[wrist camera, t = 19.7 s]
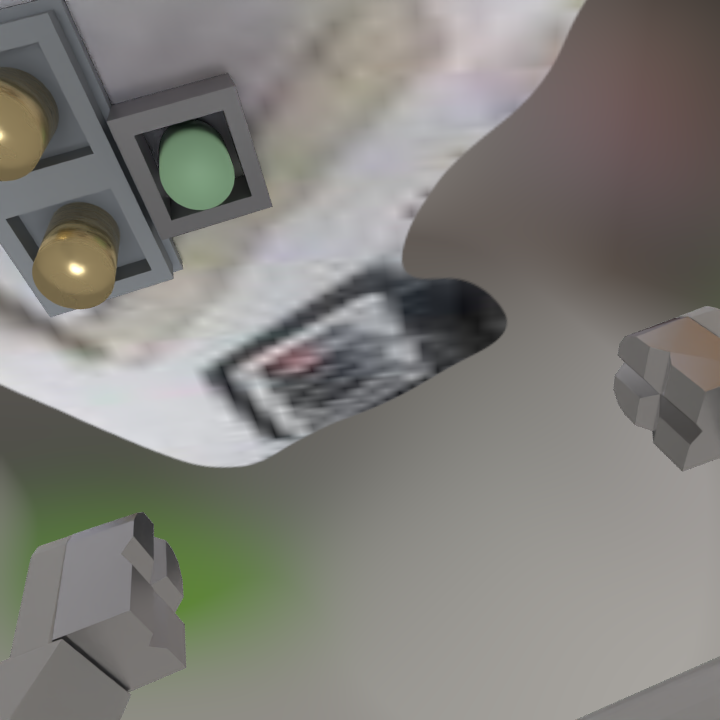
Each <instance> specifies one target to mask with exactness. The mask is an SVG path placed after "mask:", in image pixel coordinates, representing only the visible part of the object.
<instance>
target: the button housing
mask: <svg viewBox="0 0 720 720" xmlns="http://www.w3.org/2000/svg"><path fill="white" fill-rule="evenodd" d="M219 111H223V114H224V117H225V120H226V123H227V126H228V129H229V132H230V135H231V138H232V141H233V144H234V147H235V150H236V153H237V156H238V159H239V162H240V165H241V168H242V171H243V174H244V175H243V176H240V177H236V178H235V180H234V185H233V188H232V191H231V193H230V194H229V196H228V197H227V198H226V200H224V201H223V202H222V203H221V204H219V205H218V206H216V207H213V208H211V209H207V210H194V209H189V208H186V207H184V206H182V205H180V204H178V203H177V202H175V201H174V200H173V199H172V198H171V197H170V196H169V195H168V194H167V192H166V191H165V189H164V187H163V185H162V183H161V179H160V173H159V170H158V168H157V166H156V163H155V161H154V159H153V156H152V154H151V152H150V149H149V147H148V145H147V142H146V140H145V138H144V135H143V133H145V132H149V131H152V130H156V129H159V128H163V127H166V126H170V125H173V124H177V123H180V122H184V121H187V120H191V119H195V118H198V117H202V116H205V115H209V114H212V113H216V112H219ZM107 123H108V126H109V128H110V130H111V132H112V134H113V136H114V138H115V141H116V143H117V145H118V147H119V149H120V151H121V154H122V156H123V158H124V160H125V162H126V164H127V166H128V169H129V171H130V173H131V175H132V177H133V179H134V181H135V184H136V186H137V188H138V190H139V192H140V194H141V196H142V199H143V201H144V203H145V205H146V207H147V209H148V211H149V214H150V216H151V218H152V220H153V222H154V224H155V226H156V229H157V231H158V233H159V235H160V237H161V239H162V240H165V239H168V238H171V237H175V236H178V235H181V234H185V233H188V232H191V231H194V230H198V229H201V228H204V227H207V226H211V225H214V224H217V223H220V222H224V221H227V220H230V219H234V218H237V217H240V216H243V215H247V214H250V213H253V212H256V211H260V210H263V209H266V208H270V207H273V206H272V203H271V200H270V197H269V193H268V190H267V187H266V184H265V180H264V177H263V174H262V171H261V167H260V164H259V161H258V158H257V154H256V151H255V148H254V145H253V142H252V138H251V135H250V132H249V129H248V125H247V122H246V119H245V116H244V112H243V109H242V106H241V103H240V99H239V96H238V93H237V90H236V86H235V84H234V83H233V81H232V79H231V78H230V76H229V74H228V73H226V74H223V75H219V76H215V77H212V78H208V79H204V80H201V81H197V82H194V83H190V84H186V85H183V86H179V87H175V88H172V89H168V90H165V91H161V92H157V93H154V94H150V95H146V96H143V97H139V98H136V99H132V100H128V101H125V102H121V103H117V104H114V105H111V109H110V112H109V115H108V119H107Z"/></svg>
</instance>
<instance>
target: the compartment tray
mask: <svg viewBox="0 0 720 720" xmlns="http://www.w3.org/2000/svg"><path fill="white" fill-rule="evenodd" d="M0 67H11V68H16V69H19V70H22V71H25V72H27V73H29V74H31V75H32V76H34V77H35V78H37V79H38V80H39V81H40V82H41V83H43V84H44V85H45V87H46V88H47V89H48V90H49V91H50V93H51V94H52V96H53V98H54V100H55V102H56V105H57V108H58V113H59V121H58V126H57V129H56V131H55V133H54V135H53V137H52V138H51V140H50V142H49V144H48V146H47V147H46V149H45V151H44V153H43V154H42V156H41V158H40V160H39V162H38V163H37V165H36V166H35V168H34V169H33V170H32V171H31V172H30V173H29V174H27V175H26V176H24V177H22V178H19V179H17V180H12V181H0V244H1V245H2V247H3V248H4V250H5V251H6V253H7V254H8V256H9V257H10V259H11V260H12V262H13V263H14V264H15V266H16V267H17V269H18V270H19V272H20V273H21V275H22V276H23V278H24V279H25V281H26V282H27V284H28V285H29V287H30V288H31V290H32V291H33V292H34V294H35V295H36V297H37V298H38V300H39V301H40V303H41V304H42V306H43V307H44V309H45V310H46V312H47V313H48V315H49V316H50V317H53V316H56V315H60V314H63V313H66V312H69V311H72V310H76V309H71V308H66V307H62V306H60V305H57V304H55V303H53V302H51V301H50V300H48V299H47V298H46V297H45V296H43V295H42V294H41V292H40V291H39V290H38V289H37V287H36V285H35V283H34V280H33V276H32V267H33V263H34V261H35V258H36V256H37V253H38V250H39V248H40V245H41V243H42V240H43V238H44V235H45V233H46V230H47V228H48V225H49V222H50V220H51V218H52V216H53V214H54V213H55V212H56V211H57V210H58V209H59V208H60V207H62V206H64V205H67V204H69V203H75V202H84V203H90V204H93V205H96V206H98V207H100V208H102V209H104V210H105V211H106V212H108V213H109V214H110V215H111V216H112V217H113V219H114V220H115V221H116V223H117V225H118V227H119V231H120V244H119V252H118V260H117V268H116V276H115V284H114V288H113V291H112V293H111V294H110V296H109V297H108V298H107V299H111V298H114V297H117V296H120V295H123V294H126V293H130V292H133V291H136V290H139V289H142V288H146V287H149V286H152V285H155V284H158V283H161V282H165V281H168V280H171V279H173V272H176V271H179V270H182V269H183V265H182V260H181V258H180V256H179V253H178V251H177V249H176V247H175V245H174V242H173V240H172V238H168V239H165V240H162V239H161V237H160V235H159V233H158V231H157V229H156V226H155V224H154V222H153V220H152V218H151V216H150V214H149V211H148V209H147V207H146V205H145V203H144V201H143V199H142V196H141V194H140V192H139V190H138V188H137V186H136V184H135V181H134V179H133V177H132V175H131V173H130V171H129V169H128V166H127V164H126V162H125V160H124V158H123V156H122V154H121V151H120V149H119V147H118V145H117V143H116V141H115V138H114V136H113V134H112V132H111V130H110V128H109V126H108V123H107V119H108V115H109V112H110V109H111V103H110V101H109V99H108V96H107V94H106V92H105V90H104V87H103V85H102V83H101V81H100V79H99V76H98V74H97V72H96V70H95V68H94V65H93V63H92V61H91V59H90V57H89V54H88V52H87V50H86V48H85V45H84V43H83V41H82V39H81V37H80V34H79V32H78V30H77V28H76V26H75V23H74V21H73V19H72V17H71V14H70V12H69V10H68V8H67V6H66V3H65V1H64V0H35V1H31V2H27V3H23V4H19V5H15V6H11V7H7V8H3V9H0ZM107 299H106V300H107Z"/></svg>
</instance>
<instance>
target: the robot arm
mask: <svg viewBox="0 0 720 720" xmlns="http://www.w3.org/2000/svg"><path fill="white" fill-rule="evenodd" d="M618 356H619V357H620V358H621V359H622V360H623V361H624V363H623V365H622V366H621V367H620V369H619V370H618V372H617V373H616V374H615V379H614V392H615V396H616V399H617V402H618V404H619V406H620V408H621V409H622V411H623V412H624V414H625V415H626V416H627V417H628V418H629V419H630V420H631V421H632V422H633V423H634V424H635V425H636V426H639V427H642V428H645V429H648V430H651V431H652V432H653V443H654V444H655V445H656V446H657V447H658V448H659V449H660V450H661V451H662V452H663V453H664V454H665V455H666V456H667V457H668V458H669V459H670V460H671V461H672V462H673V463H674V464H675V465H676V466H677V467H678V468H679V469H680V470H681V471H685V470H688V469H691V468H694V467H696V466H699V465H702V464H704V463H707V462H710V461H713V460H715V459H718V458H720V310H719V309H717V308H714V307H709V306H706V307H703V308H700V309H697V310H695V311H692V312H689V313H687V314H684V315H681V316H679V317H677V318H672V319H670V320H667V321H664V322H662V323H659V324H656V325H654V326H651V327H649V328H646V329H643V330H640V331H638V332H635V333H632V334H630V335H627V336H625V337H624V338H623V340H622V341H621V342H620V344H619V350H618ZM182 583H183V582H182V576H181V572H180V568H179V564H178V561H177V559H176V556H175V554H174V552H173V550H172V548H171V547H170V545H169V544H168V543H167V541H166V540H163V539H159V538H155V537H154V524H153V523H152V522H151V521H150V519H149V518H148V517H147V516H146V515H145V514H144V512H141V513H135V514H133V515H129V516H126V517H123V518H120V519H118V520H115V521H111V522H108V523H105V524H102V525H100V526H96V527H93V528H91V529H88V530H85V531H82V532H78V533H76V534H73V535H71V536H68V537H65V538H62V539H59V540H57V541H54V542H50V543H47V544H44V545H42V546H39V547H38V548H37V549H36V551H35V552H34V554H33V555H32V557H31V560H30V564H29V569H28V574H27V578H26V583H25V588H24V593H23V597H22V602H21V607H20V612H19V616H18V621H17V626H16V630H15V635H14V640H13V644H12V649H11V654H10V658H9V659H6V660H4V661H1V662H0V720H120V719H121V717H122V714H123V712H124V710H125V708H126V705H127V703H128V701H129V698H130V693H128V692H130V691H133V690H135V689H137V688H140V687H142V686H144V685H147V684H149V683H151V682H153V681H156V680H159V679H161V678H163V677H165V676H168V675H170V674H173V673H175V672H177V671H180V670H182V669H184V668H186V652H185V624H184V623H183V622H182V621H181V620H180V619H179V617H178V616H177V615H176V614H175V611H176V610H177V608H178V606H179V604H180V602H181V601H182V598H183V584H182ZM577 720H720V656H719V657H717V658H715V659H712V660H710V661H708V662H706V663H704V664H701V665H699V666H697V667H694V668H692V669H690V670H687V671H685V672H683V673H681V674H678V675H676V676H674V677H672V678H669V679H667V680H665V681H663V682H660V683H658V684H656V685H653V686H651V687H649V688H647V689H644V690H642V691H640V692H638V693H635V694H633V695H631V696H628V697H626V698H624V699H622V700H619V701H617V702H615V703H613V704H610V705H608V706H606V707H604V708H601V709H599V710H597V711H595V712H592V713H590V714H588V715H585V716H583V717H581V718H579V719H577Z"/></svg>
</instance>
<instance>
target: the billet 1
mask: <svg viewBox="0 0 720 720" xmlns="http://www.w3.org/2000/svg"><path fill="white" fill-rule="evenodd" d="M58 121H59V113H58V108H57V105H56V102H55V100H54V98H53V96H52V94H51V93H50V91H49V90H48V89H47V88H46V87H45V85H44V84H43V83H41V82H40V81H39V80H38V79H37V78H35V77H34V76H32V75H31V74H29V73H27V72H25V71H22V70H19V69H16V68H11V67H0V181H12V180H17V179H19V178H22V177H24V176H26V175H27V174H29V173H30V172H31V171H32V170H33V169H34V168H35V166H36V165H37V163H38V162H39V160H40V158H41V156H42V154H43V153H44V151H45V149H46V147H47V146H48V144H49V142H50V140H51V138H52V137H53V135H54V133H55V131H56V129H57V126H58Z"/></svg>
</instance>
